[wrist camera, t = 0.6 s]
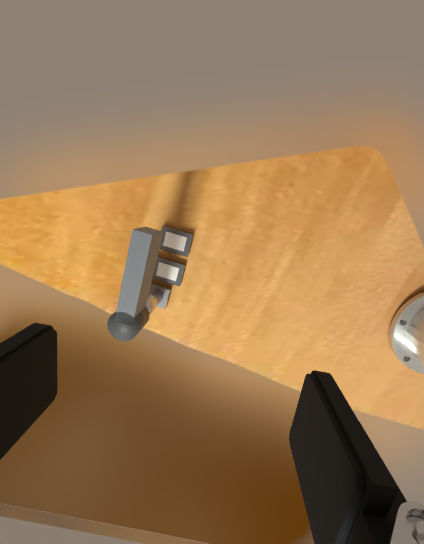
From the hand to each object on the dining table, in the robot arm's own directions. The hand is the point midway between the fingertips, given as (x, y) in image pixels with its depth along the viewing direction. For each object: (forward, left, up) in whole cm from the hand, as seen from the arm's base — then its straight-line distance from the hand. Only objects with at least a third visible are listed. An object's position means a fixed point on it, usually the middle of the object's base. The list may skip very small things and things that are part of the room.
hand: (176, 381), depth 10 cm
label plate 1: (+7, 0, -28) cm, 29 cm away
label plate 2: (+7, +5, -28) cm, 29 cm away
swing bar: (+8, +4, -20) cm, 22 cm away
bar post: (+8, +9, -28) cm, 30 cm away
